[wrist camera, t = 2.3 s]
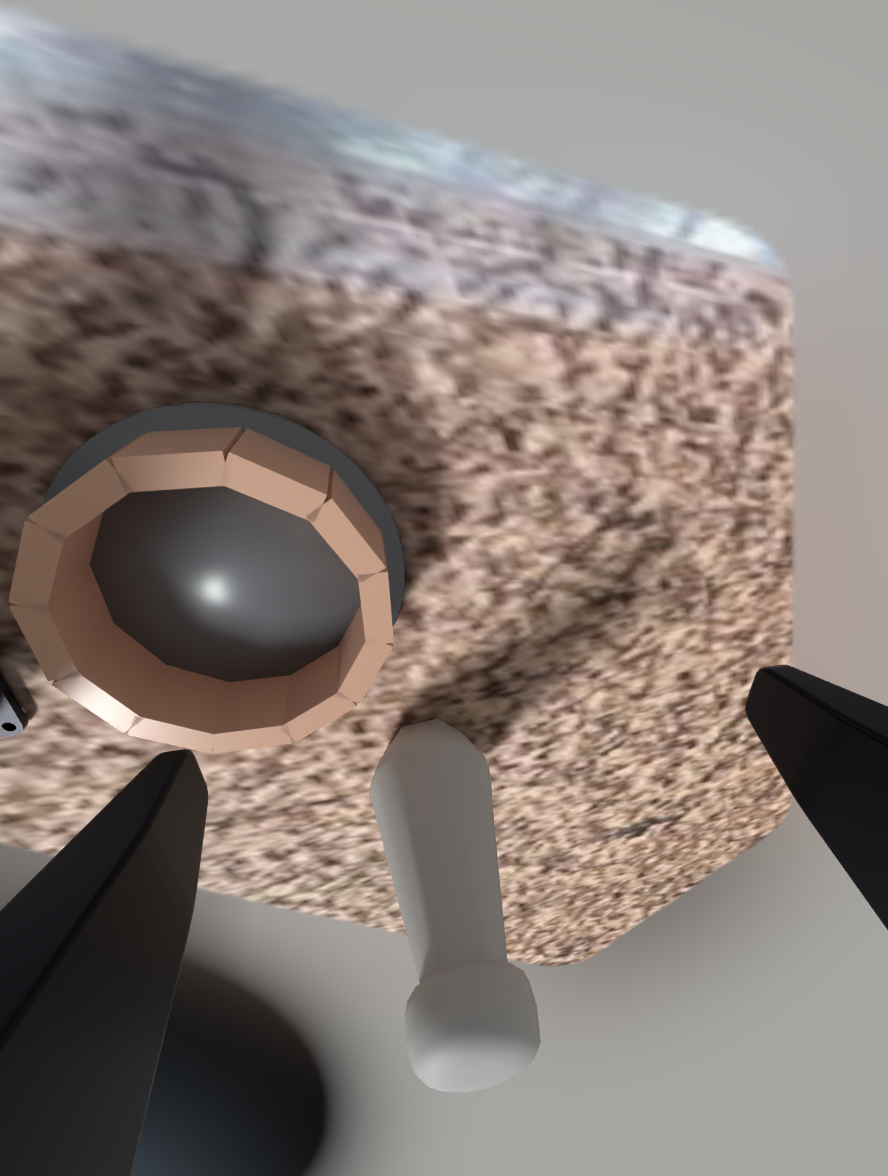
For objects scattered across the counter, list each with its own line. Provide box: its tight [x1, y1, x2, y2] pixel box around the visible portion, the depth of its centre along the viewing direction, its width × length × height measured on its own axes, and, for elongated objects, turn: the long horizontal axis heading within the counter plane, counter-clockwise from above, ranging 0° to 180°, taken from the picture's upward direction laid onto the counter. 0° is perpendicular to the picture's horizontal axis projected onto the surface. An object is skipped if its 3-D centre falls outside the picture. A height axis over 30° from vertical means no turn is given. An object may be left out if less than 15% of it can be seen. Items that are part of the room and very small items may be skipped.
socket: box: [8, 402, 405, 753], centre depth 19 cm, size 13×13×4 cm
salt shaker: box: [370, 718, 540, 1092], centre depth 21 cm, size 6×6×13 cm
